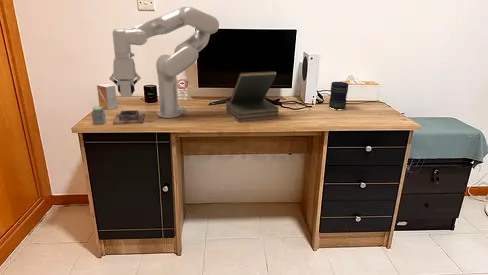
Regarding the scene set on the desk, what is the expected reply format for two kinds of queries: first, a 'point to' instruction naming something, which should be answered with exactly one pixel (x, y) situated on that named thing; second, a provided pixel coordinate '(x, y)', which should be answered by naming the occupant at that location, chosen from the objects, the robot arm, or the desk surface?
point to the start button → (97, 108)
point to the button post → (98, 117)
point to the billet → (125, 88)
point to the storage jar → (338, 95)
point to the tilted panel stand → (252, 97)
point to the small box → (107, 96)
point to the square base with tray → (129, 117)
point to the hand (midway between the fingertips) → (126, 92)
